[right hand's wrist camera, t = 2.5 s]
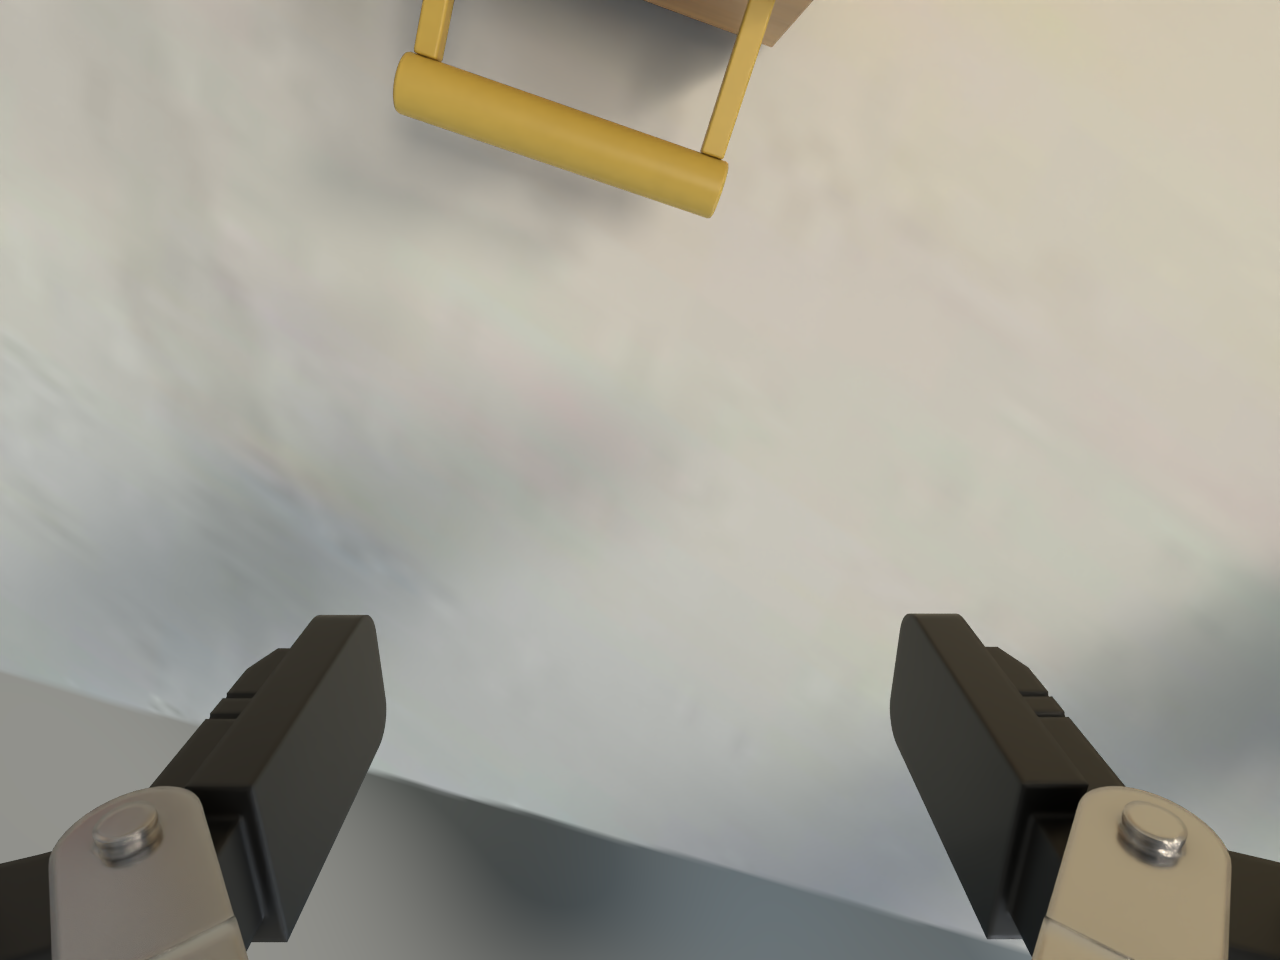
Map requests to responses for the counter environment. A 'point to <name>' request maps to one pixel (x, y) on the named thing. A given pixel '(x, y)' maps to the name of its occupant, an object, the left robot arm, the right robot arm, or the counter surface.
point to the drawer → (580, 142)
